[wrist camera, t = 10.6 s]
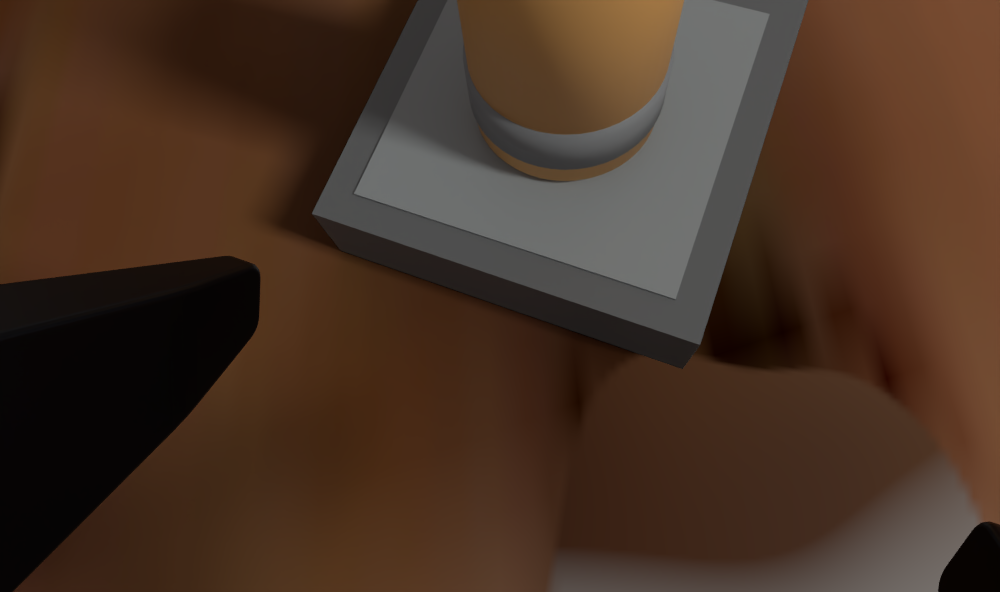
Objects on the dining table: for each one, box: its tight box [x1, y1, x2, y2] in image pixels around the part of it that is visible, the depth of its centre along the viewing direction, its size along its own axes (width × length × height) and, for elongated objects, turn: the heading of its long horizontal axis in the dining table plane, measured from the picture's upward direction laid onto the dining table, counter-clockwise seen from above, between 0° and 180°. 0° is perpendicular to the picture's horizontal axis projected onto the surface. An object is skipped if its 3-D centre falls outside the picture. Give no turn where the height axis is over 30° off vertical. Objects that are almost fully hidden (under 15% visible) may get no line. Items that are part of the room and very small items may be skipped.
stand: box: [312, 0, 808, 369], centre depth 24 cm, size 12×12×3 cm
